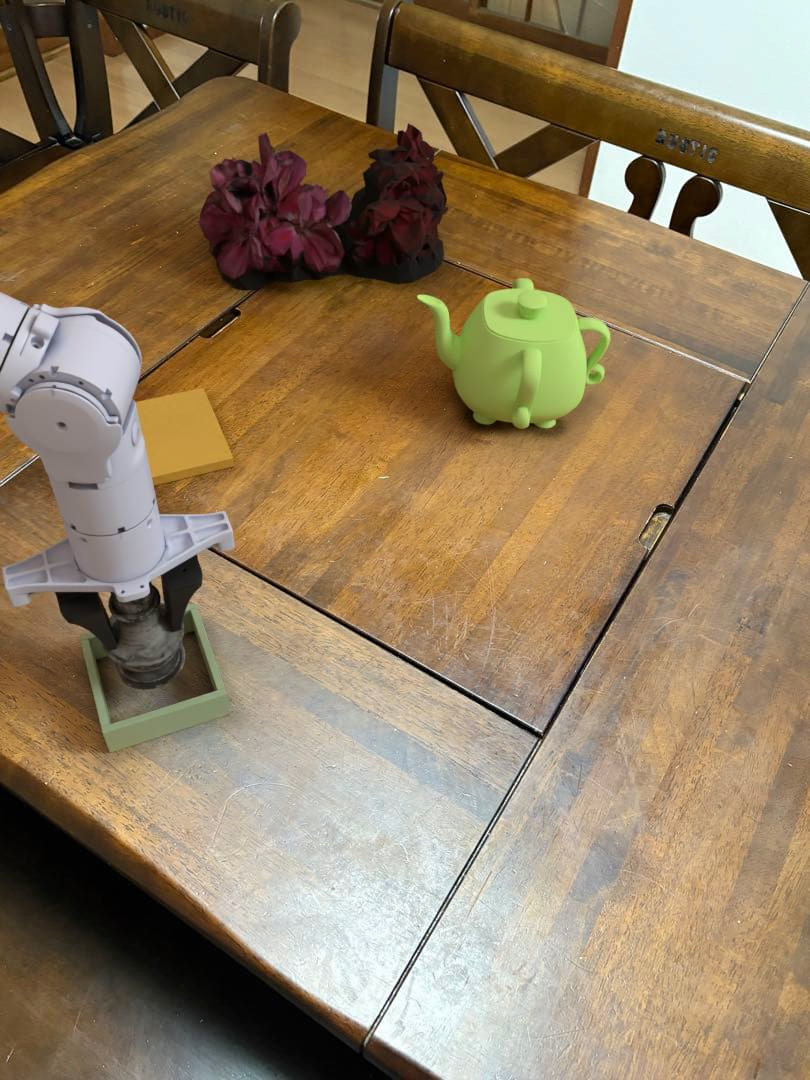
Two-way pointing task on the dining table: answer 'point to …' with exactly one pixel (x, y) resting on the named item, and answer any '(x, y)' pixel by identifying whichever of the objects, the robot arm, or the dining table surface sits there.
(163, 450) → the control block
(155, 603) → the chess piece
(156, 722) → the green square tray
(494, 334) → the teapot
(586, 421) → the dining table surface
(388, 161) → the flower arrangement
